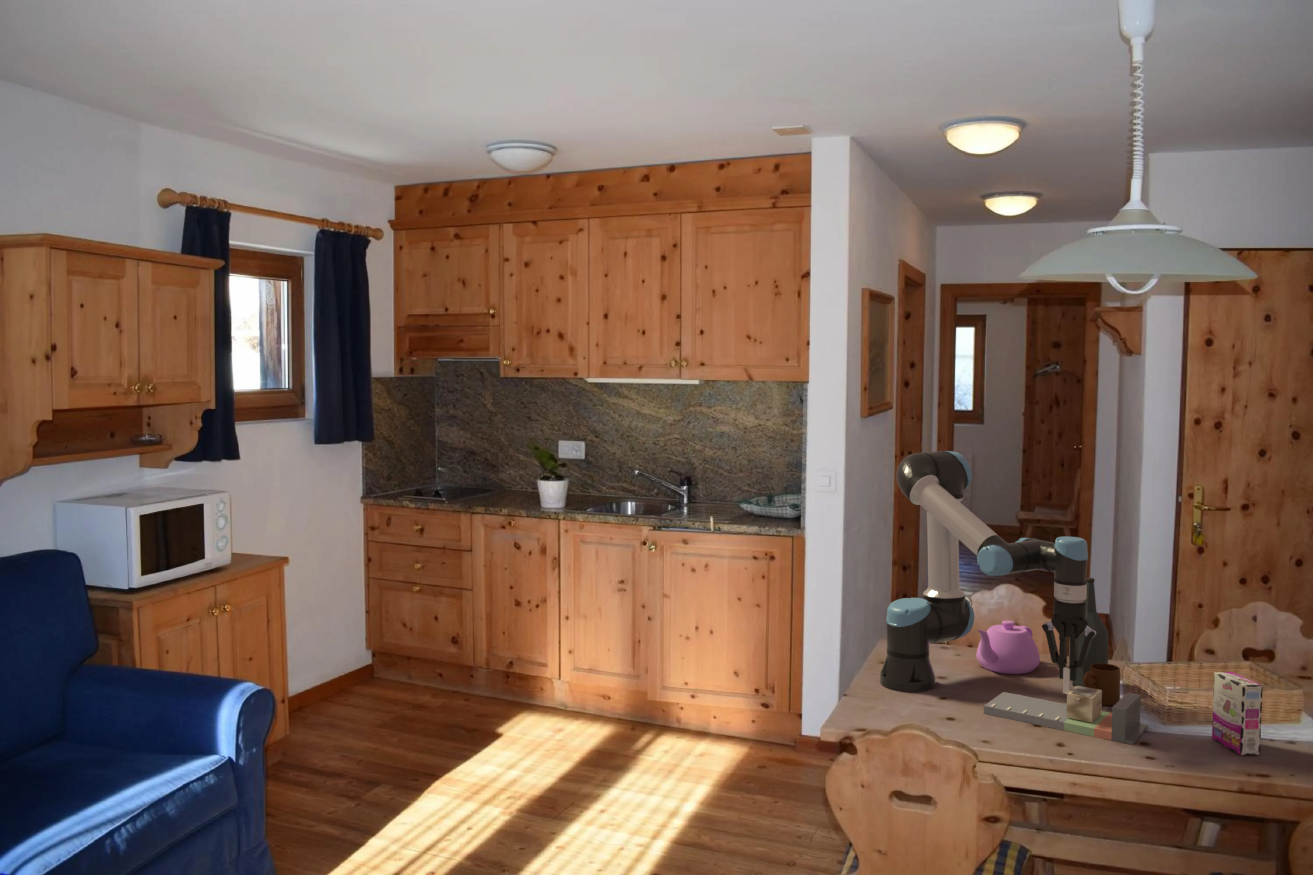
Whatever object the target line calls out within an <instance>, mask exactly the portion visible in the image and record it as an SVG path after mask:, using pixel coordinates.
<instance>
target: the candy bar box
mask: <svg viewBox="0 0 1313 875" xmlns="http://www.w3.org/2000/svg"><path fill="white" fill-rule="evenodd" d="M1263 688H1264V686H1263V685H1262V684H1260V683H1259V682H1256V681H1253V680H1251V679H1249V678H1247V677H1244V676H1243V675H1240V674H1238V673H1235V672H1233V671H1219V672H1218V671H1217V672H1215V671H1214V672H1213V693H1212V694H1213V697H1212V698H1213V699H1212V720H1211V721H1212V722H1211V724H1212V725H1211V728H1212V729H1211V739H1212V740H1213V741H1215V742H1217V743H1218V744H1220V745H1222V746H1223V747H1225V748H1227V749H1228V750H1231V751H1233V752H1234V753H1236V754H1238V755H1240V756H1260V755H1261V736H1262V734H1261V733H1262V715H1263V714H1262V712H1263V711H1262V710H1263V691H1264V690H1263Z"/></svg>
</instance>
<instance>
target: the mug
mask: <svg viewBox="0 0 1313 875" xmlns="http://www.w3.org/2000/svg"><path fill="white" fill-rule="evenodd" d="M1083 684H1084V687H1087V688H1093V689H1098V690H1102V706H1106V707H1113V706H1114V705H1115V704H1116V703H1117V702H1118V701H1119V700H1120V699H1121V668H1120V667H1119V666H1118V665H1114V664H1111V663H1108V664H1105V663H1095V664H1091V665H1090V669H1089V672H1087V673H1085V675H1084V677H1083Z"/></svg>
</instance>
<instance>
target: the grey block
mask: <svg viewBox="0 0 1313 875" xmlns="http://www.w3.org/2000/svg"><path fill="white" fill-rule="evenodd" d="M1141 698H1142V695H1141V694H1139V693H1133V692H1126V694H1124V695H1123V696H1122V697H1120V700H1119V701H1118V702H1117V703H1116V704H1115V705H1114V706H1111V713H1112V736H1111V740H1110V741H1113V742H1118V743H1122V744H1128V745H1131V746H1132V745H1133V746H1134V744H1135V743H1136V742H1137V741H1138V740H1139V739H1140V737H1141V736H1142V735H1143V734H1144V733H1145V732H1146V731H1147V730H1148V729H1149V725H1148V724H1146V723H1141V700H1142V699H1141Z"/></svg>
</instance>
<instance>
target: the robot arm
mask: <svg viewBox="0 0 1313 875" xmlns="http://www.w3.org/2000/svg"><path fill="white" fill-rule="evenodd" d="M971 468H972V467H971V465H970V463H969V461H968V460H967V459H966V458H965V456H964V455H962V454H961V453H960V452H956V451H952V450H950V451H949V450H940V451H928V452H915V453H911V454H909V455H907V456H905V458H903V459H902V460H901V461H900V463H899V465H898V466H897V470H896V483H897V487H898V488H899V490H900V491H901V493H902V495H903V496H905V498H907V500H909V501H910V502H911V503H912V504H913V505H917V506H919V505H920V506H921V507H922V508H923V509H924V510H926V525H927V526H926V527H927V530H926V531H927V532H926V533H927V575H928V576H927V578H928V579H927V581H928V582H927V583H928V584H927V586H928V587H927V588H926V589H925V590H924V591H923V593H922V598H921V597H910V598H908V597H904V598H899V599H896V600H894V601H892V602H890V603H889V605H888V606H887V608H886V609H887V613H886V619H885V621H886V656H885V659H884V662H883V665H882V668H881V670H880V673H879V674H880V675H879V682H880V684H881V685H882V686H883V687H884V688H887V689H891V690H894V691H901V692H910V693H911V692H913V693H916V692H917V693H918V692H925V691H926V692H927V691H930V690H933V689H934V688H935V687H936V675H935V672H934V668H933V666H932V662H931V659H930V645H932V644H937V643H941V642H947V641H949V642H950V641H956V640H958V639H962V638H964V637H966V636H967V635H969V633H970V632H971V631H972V629H973V626H974V623H975V611H974V608H973V607H972V606H971V605H972V604H971V602H970V601H969V600H968V599H966V593H965V592H964V591H963V590H962V589H961V587H960V557H959V556H960V548H959V546H960V545H959V544H960V543H962V544H963V545H964V546H965V547H967V548H968V549H969V550H970V551H971V552H972V553H973V554H974V555H975V556H976V560H977V565H978V566H979V568H980V571H981V572H982V573H983V574H985V575H987V576H991V577H992V576H994V577H995V576H998V577H1000V576H1006V575H1012V574H1017V573H1025V572H1030V571H1043V572H1048V573H1053V575H1054V576H1053V577H1054V582H1053V583H1054V585H1053V590H1054V591H1053V596H1054V600H1053V609H1052V610H1053V611H1052V612H1053V616H1052V617H1051V619H1050V621H1047V622H1045V623H1043V624H1042V625H1041V628H1042V630H1043V632H1044V633H1045V636H1046V640H1047V646H1048V651H1049V654H1050V659H1051V662H1052V663H1053V664H1056V665H1058V668H1059V669H1058V670H1059V672H1058V675H1059V680H1062V694H1065V695H1067V693H1069V692H1070V691H1071V690H1072V689H1073V685H1072V681H1075V680H1076V678H1077V668H1078V667H1080V668H1081V667H1082V666H1084V665H1085V662H1086V659H1087V656H1088V652H1089V649H1090V646H1091V642H1092V639H1093V638H1094V636H1095V635H1096V634H1097V631H1096V630H1092V629H1091V628H1090V627H1089V626H1088V623H1087V621H1086V602H1085V601H1084V600H1086V594H1087V580H1086V578H1087V574H1088V561H1089V554H1088V552H1089V551H1088V542H1087V540H1085V539H1084V538H1082V537H1079V536H1078V537H1077V536H1070V535H1069V536H1058V537H1056V539H1055V542H1054V541H1053V542H1052V541H1049V540H1048V541H1047V540H1041V539H1039V538H1035V537H1034V538H1033V537H1031V538H1029V537H1020V538H1019V539H1018V540H1016V541H1015V542H1011V543H1008V542H1007V541H1005V539H1003V538H1002V537H1001V536H999V535H998V534H997V533H996V532H995V531H994V530H993V529H992V528H991V527H990V526H988V525H987V524H986V523H985V522H984V521H982V520H981V519H980V518H979V517H977V515H975V514H974V512H972V511H970V509H969V508H968V507H966V506H965V505H964V504H962V503H961V502H962V500H964V491H965V490H967V489H968V488H969V486H970V485H971V483H972V479H973V473H972V469H971ZM959 542H960V543H959ZM1054 629H1055V630H1056V632H1057V633H1058V639H1059V645H1057V640H1056V637H1055V632H1054ZM1084 630H1085V636H1086V638H1085V640H1084V643H1083V647H1082V650H1081V653H1080V657H1079V660H1078V639H1079V635H1080V634H1081V633H1082V632H1083V631H1084ZM1069 637H1070V666H1069V661H1068V641H1069V640H1068V638H1069ZM1058 646H1059V647H1058ZM1058 649H1059V650H1058ZM1067 664H1068V665H1067Z"/></svg>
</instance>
